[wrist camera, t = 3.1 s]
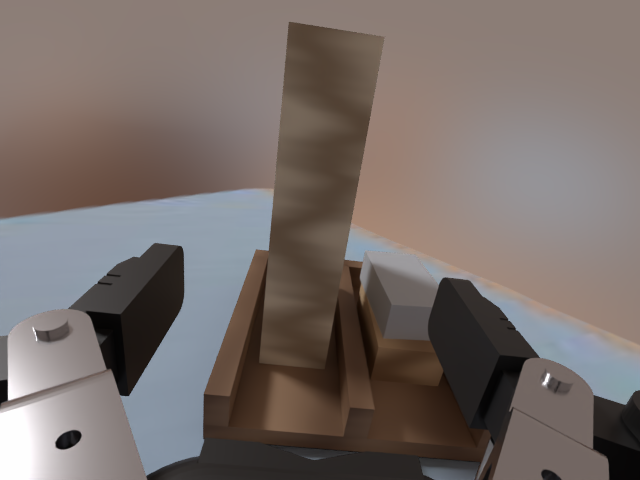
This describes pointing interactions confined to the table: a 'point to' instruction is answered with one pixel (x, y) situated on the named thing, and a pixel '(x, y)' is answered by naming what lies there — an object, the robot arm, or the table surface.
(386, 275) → the grey offcut
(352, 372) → the rack
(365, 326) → the oak offcut
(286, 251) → the birch board
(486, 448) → the robot arm
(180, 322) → the table surface
